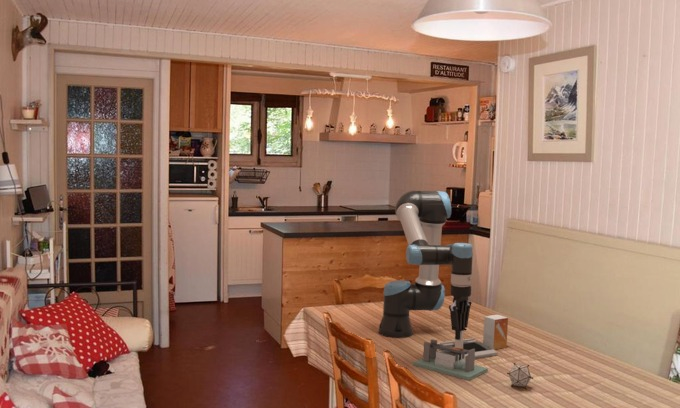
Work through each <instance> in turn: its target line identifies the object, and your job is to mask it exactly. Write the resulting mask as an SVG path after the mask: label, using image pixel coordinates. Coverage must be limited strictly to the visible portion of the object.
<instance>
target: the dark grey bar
mask: <svg viewBox="0 0 680 408" xmlns="http://www.w3.org/2000/svg"><path fill="white" fill-rule="evenodd" d="M430 343H431V342H430ZM430 348H435V349H437V350H439V351H440V350H445V351H450V352H455V353H460V354H465V355H466V354H468V351H469V350H466V349H463V348H462V349H460V348H456V347H450V346H445V345H440V343H437V344H435V343H431V347H430Z"/></svg>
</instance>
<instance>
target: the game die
mask: <svg viewBox="0 0 680 408" xmlns="http://www.w3.org/2000/svg"><path fill="white" fill-rule="evenodd" d="M529 367H530V364H527V366H526V365H521V364H520V365H519V364H516V362H513V367H512V368H511V370H510V371H509V372H506V374H507V375H508V376H509V379H510V381H511V385H510V387H512V388H513V386H516V387H520V388H521V387H523V388H524V389H525V390H527V386H528V384H529V382H530V381H531V379H532V380H533V379H534V377H532V376H531V372H530V370H529Z"/></svg>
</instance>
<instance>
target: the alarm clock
mask: <svg viewBox="0 0 680 408" xmlns="http://www.w3.org/2000/svg"><path fill="white" fill-rule="evenodd" d="M439 344H440V345H445V346H450V347H455V340H450V341H449V340H448V341H442V342H441V341H440V342H439ZM463 349H466V350H471V349H475V360H479V358H480V359H485V357H487V358H492V357H497V356H498V354H499V353H498V351H497V350H496V349H495V350H494V349H493V350H492V349H491V348H489V347H488V346H486V345H485V344H483V342H480V341H478V340H476V339H475V338H474V337H473V338H463ZM467 355H468V354H466V355H465V357H466V356H467ZM496 355H497V356H496Z"/></svg>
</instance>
